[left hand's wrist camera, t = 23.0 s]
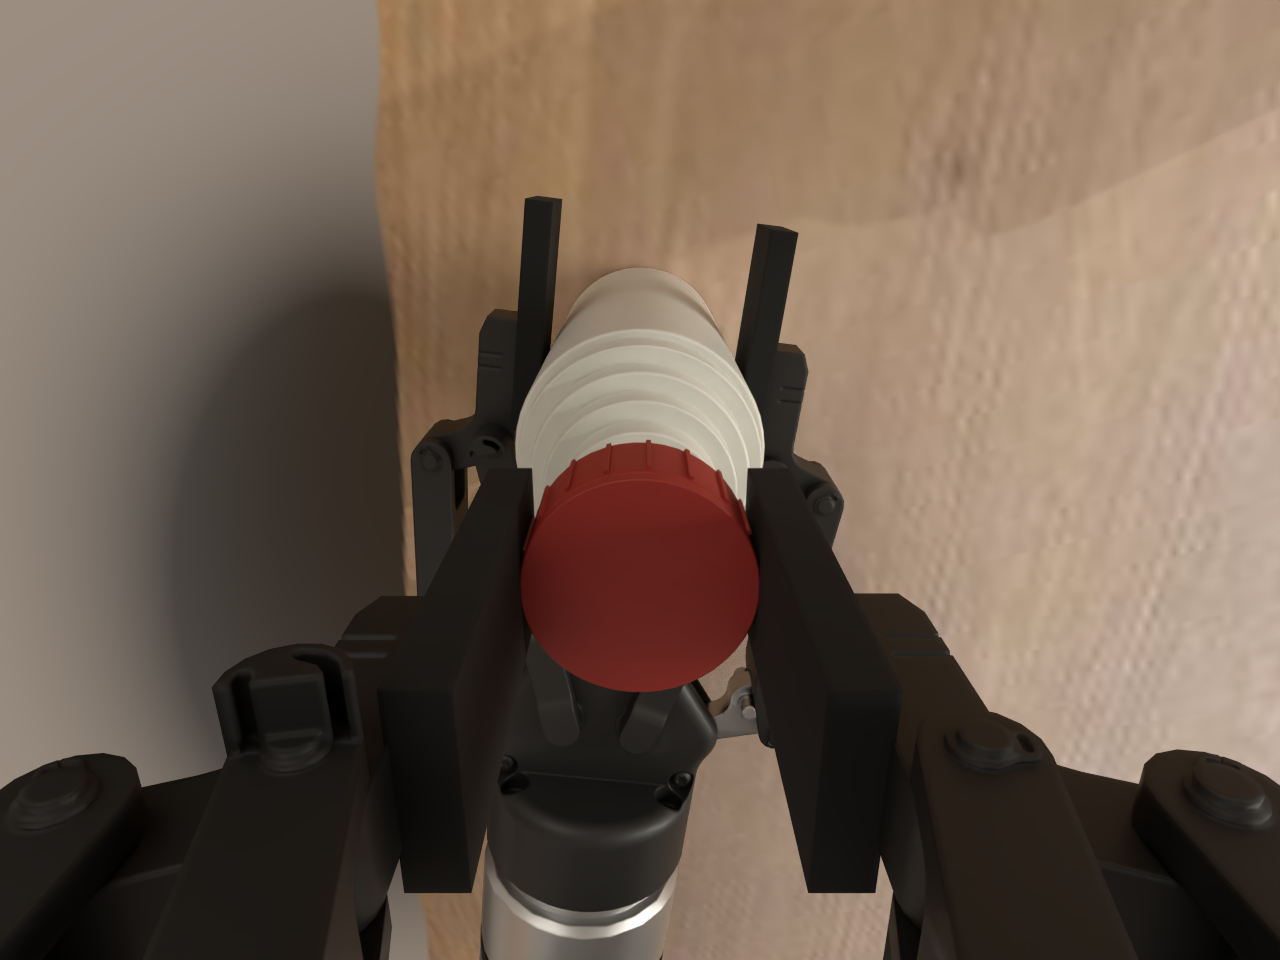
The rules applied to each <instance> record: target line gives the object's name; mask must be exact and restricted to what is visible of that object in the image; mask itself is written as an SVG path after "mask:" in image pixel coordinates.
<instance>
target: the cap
mask: <svg viewBox="0 0 1280 960" xmlns="http://www.w3.org/2000/svg"><path fill="white" fill-rule="evenodd" d="M750 534H752V531H751V528H750V525H749V521H748V518H747V515H746V512H745V509H744V505H743V502H742V500H741V499H739V500H737V498H736V496H735V494H734V493H733V491H732V489H731V488H730V487H729V485H728V484H727V483H726V481H725V480H724V479H723V476H722V472H721V471H720V470H719V469H718V470H717V471H715V470H714V469H713V468H712V467H710V466H709V465H708V464H706V463H705V462H704V461H702V460H700V459H699V458H697V457H695V456H693V455H692V454H690V450H688V449H686V448H685V450H684V451H682V450H680V449H678V448H674V447H670V446H667V445H663V444H655V443H651V440H646V443H642V442H633V443H624V444H617V445H613V446H612V445H611V443H609V444H606V447H605V448H602V449H600V450H597V451H595V452H592V453H590V454H588V455H586V456H584V457H583V458H581V459H579V460H577V461H576V460H575V459H573V460H572V461H571V463H570V466H569V467H568V468H567V469H566V470H565V471H563V472H562V473H561V474H560V475H559V476H558V477H557V478H556V480H555V481H554V482H553V483H552V485H551V486H548V485H547V486H546V487H545V489H544V493H543V496H542V499H541V503H540V506H539V508H538V511H537V514H536V517H535V518H532V521H531V524H530V528H529V531H528V534H527V537H526V541H525V544H524V547H523V555H524V557H523V561H522V565H521V569H520V587H521V603H522V610H523V613H524V616H525V619H526V621H527V624H528V626H529V628H530V630H531V632H532V634H533V635H534V637H535V638H536V640H537V641H538V643H539V644H540V646H541V647H542V648H543V649H544V650H545V651H546V653H547V654H548V655H549V656H550V657H551V658H552V659H553V660H554V661H556V662H557V663H558V664H559V665H560V666H562V667H563V668H564V669H566V670H567V671H569V672H570V673H572V674H574V675H575V676H577V677H579V678H581V679H583V680H585V681H587V682H590V683H593V684H595V685H598V686H601V687H605V688H609V689H613V690H619V691H627V692H652V691H661V690H666V689H671V688H675V687H678V686H681V685H684V684H687V683H690V682H692V681H694V680H696V679H698V678H701V677H703V676H704V675H706V674H707V673H709V672H711V671H712V670H714V669H715V668H717V667H718V666H719V665H720V664H722V663H723V662H724V661H725V660H726V659H727V658H728V657H729V656H730V655H731V654H732V653H733V652H734V651H735V650H736V649H737V648H738V646H739V645H740V643H741V642H742V641H743V639H744V638H745V636H746V634H747V633H748V631H749V629H750V627H751V625H752V623H753V620H754V617H755V615H756V612H757V607H758V598H759V581H760V572H759V567H758V562H757V558H756V554H755V551H754V548H753V544H752V541H751V538H750Z"/></svg>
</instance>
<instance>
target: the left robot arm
mask: <svg viewBox="0 0 1280 960" xmlns="http://www.w3.org/2000/svg"><path fill="white" fill-rule="evenodd" d="M745 512H746V515H747V518H748V521H749V525H750V528H751V531H752V534H750V538H751V541H752V544H753V548H754V551H755V554H756V558H757V562H758V567H759V572H760V581H759V598H758V607H757V612H756V615H755V617H754V620H753V623H752V625H751V627H750V629H749V631H748V637H749V641H750V645H751V650H752V654H753V658H754V662H755V667H756V671H757V675H758V679H759V684H760V688H761V692H762V697H763V701H764V705H765V709H766V714H767V718H768V722H769V727H770V731H771V735H772V739H773V744H774V748H775V752H776V757H777V761H778V765H779V769H780V774H781V778H782V782H783V787H784V791H785V795H786V799H787V804H788V808H789V812H790V817H791V821H792V825H793V829H794V834H795V838H796V842H797V846H798V851H799V855H800V859H801V864H802V868H803V872H804V876H805V881H806V885H807V889H808V893H875V891H876V884H877V877H878V870H879V862H880V855H881V858H882V860H883V863H884V866H885V869H886V872H887V875H888V877H889V880H890V883H891V886H892V889H893V897H892V904H891V910H890V917H889V924H888V930H887V937H886V944H885V951H884V957H883V960H1280V785H1279V784H1277V783H1276V782H1274V781H1273V780H1272V779H1270V778H1269V777H1267V776H1266V775H1264V774H1262V773H1260V772H1258V771H1255V770H1253V769H1251V768H1249V767H1247V766H1245V765H1243V764H1241V763H1239V762H1237V761H1234V760H1231V759H1228V758H1226V757H1220V756H1219V755H1214V754H1210V753H1206V752H1199V751H1188V750H1172V751H1167V752H1162V753H1157V754H1155V755H1154V756H1153V757H1152V758H1151V759H1150V760H1148V761H1147V762H1146V763H1145V764H1144V767H1143V771H1142V775H1141V778H1140V782H1139V784H1136V783H1131V782H1127V781H1122V780H1117V779H1113V778H1108V777H1103V776H1099V775H1094V774H1089V773H1085V772H1080V771H1077V770H1073V769H1070V768H1066V767H1063V766H1059V765H1057V764H1056V762H1055V759H1054V757H1053V755H1052V754H1051V752H1050V751H1049V749H1048V748H1047V747H1046V745H1045V744H1044V742H1043V741H1042V740H1041V738H1039V737H1038V736H1037V735H1035V734H1034V733H1033V732H1031V731H1030V730H1029V729H1027V728H1026V727H1025V726H1023V725H1022V724H1020V723H1018V722H1016V721H1013V720H1011V719H1009V718H1006V717H1004V716H1002V715H1000V714H997V713H993V712H989V711H988V709H987V708H986V706H985V705H984V703H983V701H982V700H981V698H980V697H979V695H978V694H977V692H976V691H975V689H974V688H973V686H972V685H971V683H970V681H969V680H968V678H967V677H966V675H965V674H964V672H963V671H962V669H961V668H960V666H959V664H958V663H957V661H956V660H955V658H954V657H953V655H950V651H949V649H948V647H947V646H946V644H945V643H944V641H943V640H942V638H941V637H938V632H937V630H936V629H935V627H934V626H933V624H932V623H931V621H930V620H929V618H928V617H927V615H926V613H925V612H924V611H922V610H921V609H920V608H918V607H917V606H915V605H914V604H912V603H911V602H910V601H908V600H907V599H905V598H904V597H902V596H901V595H900V594H854V592H853V590H852V588H851V586H850V584H849V582H848V581H847V579H846V577H845V575H844V573H843V571H842V569H841V567H840V565H839V563H838V561H837V559H836V557H835V555H834V553H833V551H832V549H831V547H830V545H829V543H828V541H827V539H826V537H825V535H824V533H823V531H822V529H821V527H820V525H819V524H818V522H817V520H816V518H815V516H814V514H813V512H812V510H811V508H810V506H809V504H808V502H807V500H806V498H805V496H804V494H803V492H802V490H801V488H800V486H799V484H798V482H797V480H796V478H795V476H794V474H793V472H792V470H791V468H748V469H747V489H746V509H745ZM532 518H535V515H534V495H533V476H532V468H489V470H488V472H487V474H486V476H485V478H484V480H483V482H482V484H481V486H480V487H479V489H478V491H477V493H476V495H475V497H474V499H473V501H472V503H471V505H470V507H469V509H468V511H467V513H466V515H465V517H464V519H463V521H462V523H461V525H460V527H459V529H458V531H457V533H456V535H455V537H454V539H453V541H452V542H451V544H450V546H449V548H448V550H447V552H446V554H445V556H444V558H443V560H442V562H441V564H440V566H439V568H438V570H437V572H436V574H435V576H434V578H433V580H432V582H431V584H430V586H429V588H428V590H427V592H426V594H425V596H381V597H380V598H378V599H377V600H376V601H374V602H373V603H371V604H370V605H368V606H367V607H366V608H364V609H363V610H361V611H360V612H358V613H357V614H356V615H355V616H354V618H353V619H352V621H351V623H350V624H349V626H348V627H347V629H346V630H345V632H344V633H343V635H342V640H339V641H338V643H337V644H336V646H335V647H331V646H327V645H324V644H294V645H288V646H283V647H278V648H273V649H269V650H267V651H264V652H261V653H259V654H256V655H254V656H251V657H249V658H246V659H244V660H243V661H241V662H240V663H238V664H236V665H235V666H233V667H232V668H230V669H229V670H227V671H225V672H224V673H223V675H222V676H221V677H220V678H219V680H218V681H217V682H216V683H215V684H214V685H213V687H212V690H213V695H214V699H215V704H216V708H217V713H218V717H219V721H220V726H221V730H222V735H223V739H224V744H225V748H226V753H227V758H226V761H225V763H224V766H223V768H222V769H219V770H216V771H212V772H208V773H205V774H201V775H197V776H193V777H188V778H183V779H179V780H174V781H170V782H165V783H160V784H155V785H151V786H146V787H141V784H140V780H139V777H138V773H137V769H136V767H135V766H134V765H133V764H131V763H130V762H129V761H128V760H127V759H126V758H125V757H121V756H115V755H111V754H106V753H99V754H88V755H78V756H73V757H70V758H65V759H62V760H59V761H58V760H57V761H54V762H52V763H48V764H45V765H43V766H41V767H39V768H37V769H35V770H33V771H31V772H29V773H27V774H25V775H23V776H21V777H19V778H16V779H14V780H13V781H12V782H10V783H9V784H7V785H6V786H5V787H3V788H2V789H1V790H0V960H388V959H389V949H390V940H391V930H392V925H391V918H390V910H389V904H388V897H387V892H388V889H389V886H390V883H391V880H392V878H393V875H394V872H395V869H396V866H397V863H398V861H399V858H400V865H401V872H402V879H403V887H404V893H471V892H472V888H473V884H474V879H475V875H476V871H477V866H478V862H479V858H480V854H481V849H482V845H483V841H484V836H485V832H486V828H487V824H488V819H489V815H490V811H491V807H492V802H493V798H494V794H495V789H496V785H497V781H498V777H499V772H500V768H501V764H502V759H503V755H504V751H505V747H506V742H507V738H508V734H509V729H510V725H511V721H512V717H513V712H514V708H515V704H516V700H517V695H518V691H519V687H520V682H521V678H522V674H523V670H524V665H525V661H526V657H527V652H528V648H529V644H530V640H531V635H532V632H531V630H530V628H529V626H528V624H527V621H526V619H525V616H524V613H523V610H522V603H521V587H520V569H521V565H522V561H523V557H524V555H523V547H524V544H525V541H526V537H527V534H528V531H529V528H530V524H531V521H532Z"/></svg>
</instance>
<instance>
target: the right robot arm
mask: <svg viewBox="0 0 1280 960" xmlns="http://www.w3.org/2000/svg"><path fill="white" fill-rule="evenodd" d="M561 208H562V199H558V198H550V197H542V196H534V197H530V198H526V199H525V207H524V223H523V238H522V254H521V269H520V285H519V300H518V311H509V310H501V309H495V310H494V311H492V312H491V313H490V314H489V315H488V316H487V318H486V320H485V322H484V324H483V326H482V328H481V331H480V333H479V354H478V372H477V393H476V410H475V414H474V415H473V416H470V417H467V418H464V419H459V420H455V421H453V420H449V419H446V420H440V421H439V422H437V423H435V424H434V425H433V427H432V428H431V429H430V430H429V431H428V433H427V434H426V435H425V436H424V438H423V439H422V440H421V441H420V442H419V444H418V445H417V446H416V448H415V449H414V451H413V452H412V455H411V476H412V497H413V517H414V538H415V558H416V579H417V596H425V594H426V592H427V590H428V588H429V586H430V584H431V582H432V580H433V578H434V576H435V574H436V572H437V570H438V568H439V566H440V564H441V562H442V560H443V558H444V556H445V554H446V552H447V550H448V548H449V546H450V544H451V542H452V541H453V539H454V537H455V535H456V533H457V531H458V529H459V527H460V525H461V523H462V521H463V519H464V517H465V515H466V513H467V511H468V481H467V467H471V466H476V469H477V472H478V476H479V480H480V483H481V484H482V482H483V480H484V478H485V476H486V474H487V472H488V470H489V468H517V462H516V451H515V440H516V429H517V424H518V420H519V416H520V412H521V409H522V407H523V404H524V402H525V399H526V397H527V395H528V393H529V391H530V389H531V387H532V385H533V383H534V381H535V379H536V377H537V375H538V373H539V371H540V369H541V367H542V365H543V363H544V361H545V359H546V357H547V355H548V353H549V352H550V345H551V332H552V320H553V307H554V295H555V283H556V270H557V258H558V245H559V233H560V220H561ZM797 238H798V233H797V232H795V231H792V230H789V229H787V228H784V227H780V226H772V225H764V224H757V229H756V236H755V242H754V248H753V254H752V260H751V266H750V272H749V278H748V284H747V290H746V296H745V303H744V309H743V315H742V321H741V327H740V333H739V339H738V345H737V351H736V357H735V362H736V364H737V366H738V368H739V370H740V372H741V374H742V376H743V378H744V380H745V382H746V384H747V386H748V388H749V390H750V392H751V394H752V396H753V398H754V400H755V402H756V405H757V408H758V410H759V413H760V416H761V421H762V426H763V431H764V445H765V448H764V462H763V467H762V468H791V470H792V472H793V474H794V476H795V478H796V480H797V482H798V484H799V486H800V488H801V490H802V492H803V494H804V496H805V498H806V500H807V502H808V504H809V506H810V508H811V510H812V512H813V514H814V516H815V518H816V520H817V522H818V524H819V525H820V527H821V529H822V531H823V533H824V535H825V537H826V539H827V541H828V543H829V545H830V547H831V549H832V545H833V542H834V539H835V535H836V532H837V529H838V525H839V522H840V519H841V515H842V512H843V508H844V500H843V497H842V495H841V493H840V492H839V490H838V488H837V487H836V485H835V484H834V482H833V480H832V479H831V477H830V476H829V474H828V473H827V471H826V469H825V468H824V467H823V466H822V465H821V464H820V463H817V462H815V461H807V460H805V459H803V458H801V457H799V456H797V455H795V454H794V453H793V447H794V441H795V436H796V431H797V426H798V421H799V416H800V411H801V404H802V401H803V396H804V390H805V386H806V381H807V376H808V368H807V363H806V358H805V354H804V353H803V352H802V351H801V350H800V349H799V348H798V347H797V345H791V344H783V343H778V342H779V336H780V331H781V325H782V320H783V315H784V309H785V304H786V298H787V293H788V287H789V282H790V276H791V271H792V265H793V260H794V254H795V249H796V243H797ZM757 733H758V734H759V738H760V741H761V742H762V743H763V744H764V745H765V746H766V747H769V748H774V744H773V739H772V735H771V731H770V727H769V722H768V718H767V714H766V709H765V705H764V701H763V697H762V692H761V688H760V684H759V679H758V675H757V671H756V667H755V662H754V658H753V654H752V650H751V645H750V641H749V637H748V641H747V646H746V668H743V667H741V668H737V669H736V670H735V672H734V675H733V676H732V677H731V678H730V679H729V681H728V686H727V691H726V692H725V694H724V695H723V696H722V697H721V698H719V699H717V700H714V701H711V700H710V698H709V697H708V695H707V693H706V692H705V690H704V689H703V687H702V685H701V684H700V682H699V681H698V679H696V680H694V681H692V682H690V683H687V684H684V685H681V686H678V687H675V688H671V689H666V690H661V691H652V692H627V691H619V690H613V689H609V688H605V687H601V686H598V685H595V684H593V683H590V682H587V681H585V680H583V679H581V678H579V677H577V676H575V675H574V674H572V673H570V672H569V671H567V670H566V669H564V668H563V667H562V666H560V665H559V664H558V663H557V662H556V661H554V660H553V659H552V658H551V657H550V656H549V655H548V654H547V653H546V651H545V650H544V649H543V648H542V647H541V646H540V644H539V643H538V641H537V640H536V638H535V637H534V635H533V634H532V635H531V640H530V644H529V648H528V652H527V657H526V661H525V665H524V670H523V674H522V678H521V682H520V687H519V691H518V695H517V700H516V704H515V708H514V712H513V717H512V721H511V725H510V729H509V734H508V738H507V742H506V747H505V751H504V755H503V759H502V764H501V768H500V772H499V777H498V781H497V785H496V789H495V794H494V798H493V802H492V807H491V811H490V815H489V819H488V824H487V840H488V842H487V846H486V850H485V862H484V881H483V901H482V923H481V950H480V959H479V960H662V955H663V949H664V945H665V941H666V937H667V932H668V927H669V922H670V916H671V911H672V905H673V900H674V895H675V889H676V884H677V879H678V866H679V860H680V857H681V853H682V848H683V842H684V837H685V831H686V826H687V820H688V815H689V809H690V804H691V798H692V793H693V787H694V782H695V776H696V772H697V769H698V767H699V765H700V764H701V762H702V761H703V760H704V758H705V757H706V756H707V755H708V754H709V753H710V752H711V751H712V749H713V748H714V746H715V744H716V741H717V739H720V738H728V737H735V736H742V735H750V734H757Z"/></svg>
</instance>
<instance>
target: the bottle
mask: <svg viewBox="0 0 1280 960" xmlns="http://www.w3.org/2000/svg"><path fill="white" fill-rule="evenodd" d="M646 440H651V443H655V444H663V445H667V446H670V447H674V448H678V449H680V450H682V451H684V450H685V448H686V449H688V450H690V454H692V455H693V456H695V457H697V458H699V459H700V460H702V461H704V462H705V463H706V464H708V465H709V466H710V467H712V468H713V469H714V470H715V471H717V470H718V469H719V470H720V471H721V472H722V476H723V479H724V480H725V481H726V483H727V484H728V485H729V487H730V488H731V489H732V491H733V493H734V494H735V496H736V498H737V500H739V499H741V500H742V502H743V505H744V509H746V489H747V469H748V468H762V467H763V462H764V448H765V445H764V431H763V426H762V421H761V416H760V413H759V410H758V408H757V405H756V402H755V400H754V398H753V396H752V394H751V392H750V390H749V388H748V386H747V384H746V382H745V380H744V378H743V376H742V374H741V372H740V370H739V368H738V366H737V364H736V362H735V360H734V358H733V356H732V354H731V352H730V350H729V348H728V346H727V344H726V342H725V340H724V338H723V336H722V334H721V332H720V330H719V328H718V326H717V325H716V323H715V321H714V319H713V317H712V315H711V313H710V311H709V309H708V307H707V305H706V303H705V302H704V301H703V299H702V298H701V296H700V295H699V294H698V293H697V292H696V291H695V290H694V289H693V288H692V287H691V286H690V285H688V284H687V283H686V282H685V281H683V280H681V279H680V278H678V277H676V276H674V275H672V274H670V273H668V272H665V271H661V270H658V269H652V268H627V269H622V270H619V271H615V272H612V273H610V274H608V275H605V276H604V277H602V278H600V279H598V280H597V281H595V282H594V283H593V284H591V285H590V286H589V287H588V288H587V289H586V290H585V291H584V292H583V293H582V294H581V295H580V296H579V298H578V299H577V300H576V302H575V303H574V305H573V307H572V308H571V310H570V312H569V314H568V316H567V318H566V320H565V322H564V324H563V326H562V328H561V330H560V332H559V334H558V336H557V338H556V340H555V342H554V344H553V346H552V348H551V350H550V352H549V353H548V355H547V357H546V359H545V361H544V363H543V365H542V367H541V369H540V371H539V373H538V375H537V377H536V379H535V381H534V383H533V385H532V387H531V389H530V391H529V393H528V395H527V397H526V399H525V402H524V404H523V407H522V409H521V412H520V416H519V420H518V424H517V429H516V440H515V451H516V462H517V468H532V476H533V495H534V515H535V517H536V514H537V511H538V508H539V506H540V503H541V499H542V496H543V493H544V489H545V487H546V486H547V485H548V486H551V485H552V483H553V482H554V481H555V480H556V478H557V477H558V476H559V475H560V474H561V473H562V472H563V471H565V470H566V469H567V468H568V467H569V466H570V463H571V461H572V460H573V459H575V460H576V461H577V460H579V459H581V458H583V457H584V456H586V455H588V454H590V453H592V452H595V451H597V450H600V449H602V448H605V447H606V444H609V443H611V445H612V446H613V445H617V444H624V443H633V442H642V443H646Z"/></svg>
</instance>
